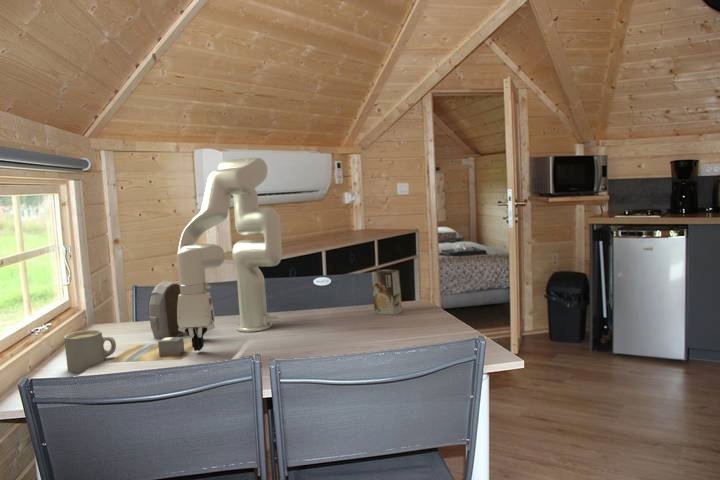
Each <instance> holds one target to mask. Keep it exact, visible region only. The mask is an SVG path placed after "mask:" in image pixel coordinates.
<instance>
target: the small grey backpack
mask: <svg viewBox="0 0 720 480" xmlns="http://www.w3.org/2000/svg"><path fill="white" fill-rule="evenodd" d="M179 294H180V284H178V283H176V282H173V281H169V280H164V281H162V282H159V283H158V284H157V285H155V286H154V288H153V289H152V291H151V294H150V295H149V299H148V305H147V306H148V317H149V322H150V323H149V324H150V329H151V332H152V335H153V339H158V340H159V339H160V340H161V339H163V338H168V337H181V335H183V334H185V332H182V331H179V330H178V328H179V326H178V321H177V304H178V295H179Z"/></svg>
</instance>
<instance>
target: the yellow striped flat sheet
mask: <svg viewBox="0 0 720 480" xmlns="http://www.w3.org/2000/svg"><path fill="white" fill-rule="evenodd" d="M192 351H194V347H192V342H184V352H183V353H182V354H181V355H180V356H161V357H159V346H158V343H157V344H156V343H153V344H150V343H149V344H134V345H132V346H130V347H129V348H127V349H125V350H124V351H123V352H121V353H119V354H118V355H116V356H115V357H114V358H112V359H110V360H109V361H107V363H129V362H132V363H133V362H152V361H157V362H158V361H174V360H175V361H177V360H179V361H180V360H183V359H184V358H185V357H186V356H187V355H189V353H191V352H192Z"/></svg>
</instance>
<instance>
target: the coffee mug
mask: <svg viewBox="0 0 720 480" xmlns="http://www.w3.org/2000/svg"><path fill="white" fill-rule="evenodd" d="M102 333H103V331H102V330H99V329H86V330H85V329H84V330H79V331H75V332H71V333H67V334H66V335H64V338H63V339H64V347H65V355H66V356H65V358H66V366H67V372H70V373H73V374H74V373H78V374H80V373H85V372H87V370H90V369H91V368H92V367H94V366H96V365H99V364H100V363H102V362H104V360H105V359H106V358H108V357H110V356H111V355H113V354H114V352H116V347H117V343H116V339H115V338H114V337H113V336H111V335H103V334H102ZM106 341H108V342H110V349H108V350H107V349H105V347H104V345H105V342H106Z"/></svg>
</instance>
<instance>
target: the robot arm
mask: <svg viewBox="0 0 720 480" xmlns="http://www.w3.org/2000/svg"><path fill="white" fill-rule="evenodd" d="M267 176H268V165H267V163H266V161H265V160H264V159H262V158H260V157H245V158H244V157H243V158H231V159H225V160H223V161H221V162H220V163H219V164H218V165H217V169H215V170H212V171H211V172H210V173H209V174H208V176H207V181H206V186H205V189H204V194H203V199H202V203H201V208H200V211H199V212H198V213H197V214H196V215H195V216H193V218H192V219H191V221H190V222H189V223H188V224H187V225H186V227H185V228H184V229H183V231H182V233H181V236H180V238H179V243H178V249H177V252H176V259H177V272H178V283H179V284H178V285H179V286H180V294H179V295H178V304H177V321H178V326H179V328H178V330H179V331H182V332H184V333H186V334H187V335H188V336H189V337H190V338H191V343H192V347H194V349H193V351H195V352H197V351H199V352H200V351H201V350H202V349H203V347H204V346H205V345H204V335H205V333H207V332H209V331H212V330H214V329H215V328H216V326H215V324H214V322H215V321H216V320H215V319H216V318H215V309H214V306H213V300H212V296H211V293H210V292H209V291H208V290H211V289H212V285H211V284H207V281H206V272H205V271H206V270H208V269H209V270H210V269H217V268H219V267H221V266H222V265H223V263H225V259H226V255H225V250H224V249H223V247H221V246H220V245H219V244H214V243H207V244H206V243H205V244H204V243H198V244H197V242H198V240H199V238H200V237H201V236H202V235H203V234H204V233H205V232H206V231H208V230H210V229H211V228H213V227H215V226H218V225H219V224H221V223H223V222H224V221H226V220H227V218H228V216H229V211H230V205H231V201H232V198H233V212H234V226H235V230H236V233H237V234H238V235H240V236H246V237H249V236H256V237H257V236H263V239H262V238H260V239H258V238H256V239H253V238H252V239H242V240H239V241H237V242H235V243H234V244H233V246H232V249H231V256H232V261H233V264H234V268H235V273H236V283H237V295H238V296H237V297H238V308H239V309H238V310H239V324H236V330H237V331H238V332H244V333H245V332H246V333H248V332H249V333H250V332H251V333H252V332H260V331H264V330H267V329H270V328H271V327H272V326H273V323H280V316H277V315H272V316H271V315H270V312H267V311H268V309H267V296H266V282H265V277H264V274H263V272H262V271H261V269H260V268H259V267H275V266H278V265H279V264H280V263H281V260H282V255H283V247H282V229H281V228H282V227H281V220H280V216H279V213H278V211H276V210H275V209H274V208H270V207H260V204H259V196H258V192H257V189H256V188H257V187H259V186H260V185H261V184H262V183H264V182H265V180H266V178H267ZM196 327H198V335H197V333H196V329H195V328H196Z"/></svg>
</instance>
